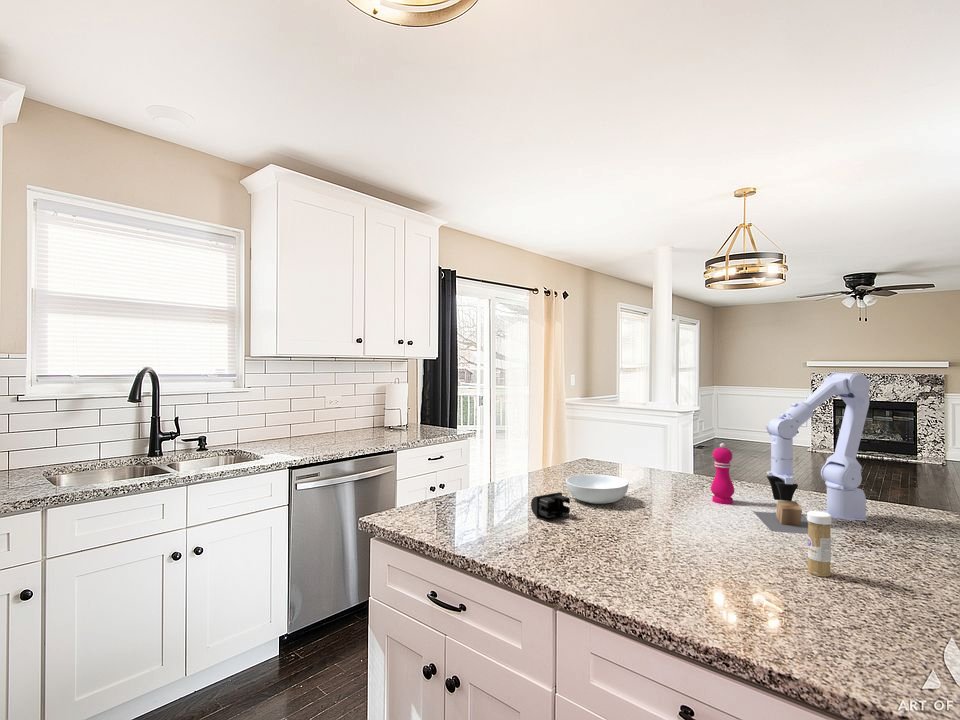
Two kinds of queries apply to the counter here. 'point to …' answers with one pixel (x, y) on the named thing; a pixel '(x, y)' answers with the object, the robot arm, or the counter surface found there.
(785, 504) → the cube
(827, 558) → the sprinkles bottle
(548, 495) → the end cap
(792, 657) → the counter surface
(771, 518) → the mat
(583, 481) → the serving bowl
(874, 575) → the counter surface
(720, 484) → the pepper mill
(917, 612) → the counter surface
